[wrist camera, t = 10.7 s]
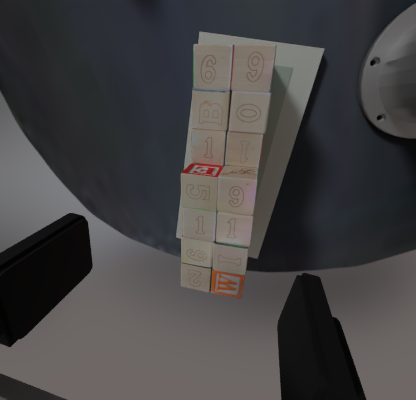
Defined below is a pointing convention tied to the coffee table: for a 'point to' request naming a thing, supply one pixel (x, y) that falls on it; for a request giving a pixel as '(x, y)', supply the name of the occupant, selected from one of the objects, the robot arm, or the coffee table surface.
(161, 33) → the coffee table surface
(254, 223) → the baseplate
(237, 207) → the stack of blocks
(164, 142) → the coffee table surface
